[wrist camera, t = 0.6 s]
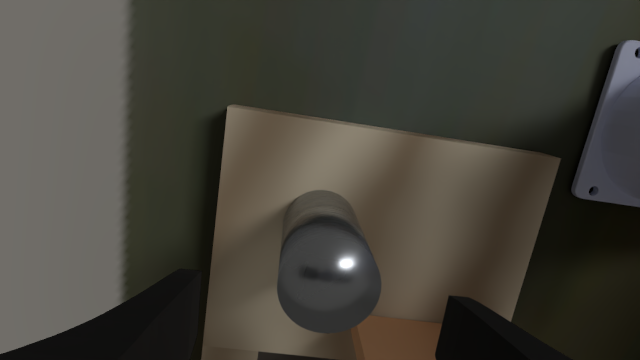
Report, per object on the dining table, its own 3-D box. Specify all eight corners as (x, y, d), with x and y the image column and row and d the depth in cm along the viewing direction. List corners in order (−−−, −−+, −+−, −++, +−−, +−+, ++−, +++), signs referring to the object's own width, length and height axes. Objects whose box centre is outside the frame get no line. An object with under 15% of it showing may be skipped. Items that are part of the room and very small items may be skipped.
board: (541, 152, 21) (560, 158, 19) (444, 482, 26) (453, 508, 25) (233, 104, 20) (227, 106, 18) (194, 463, 25) (187, 489, 23)
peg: (363, 195, 19) (390, 245, 14) (349, 263, 20) (370, 338, 14) (288, 185, 19) (284, 232, 13) (278, 254, 20) (270, 327, 14)
